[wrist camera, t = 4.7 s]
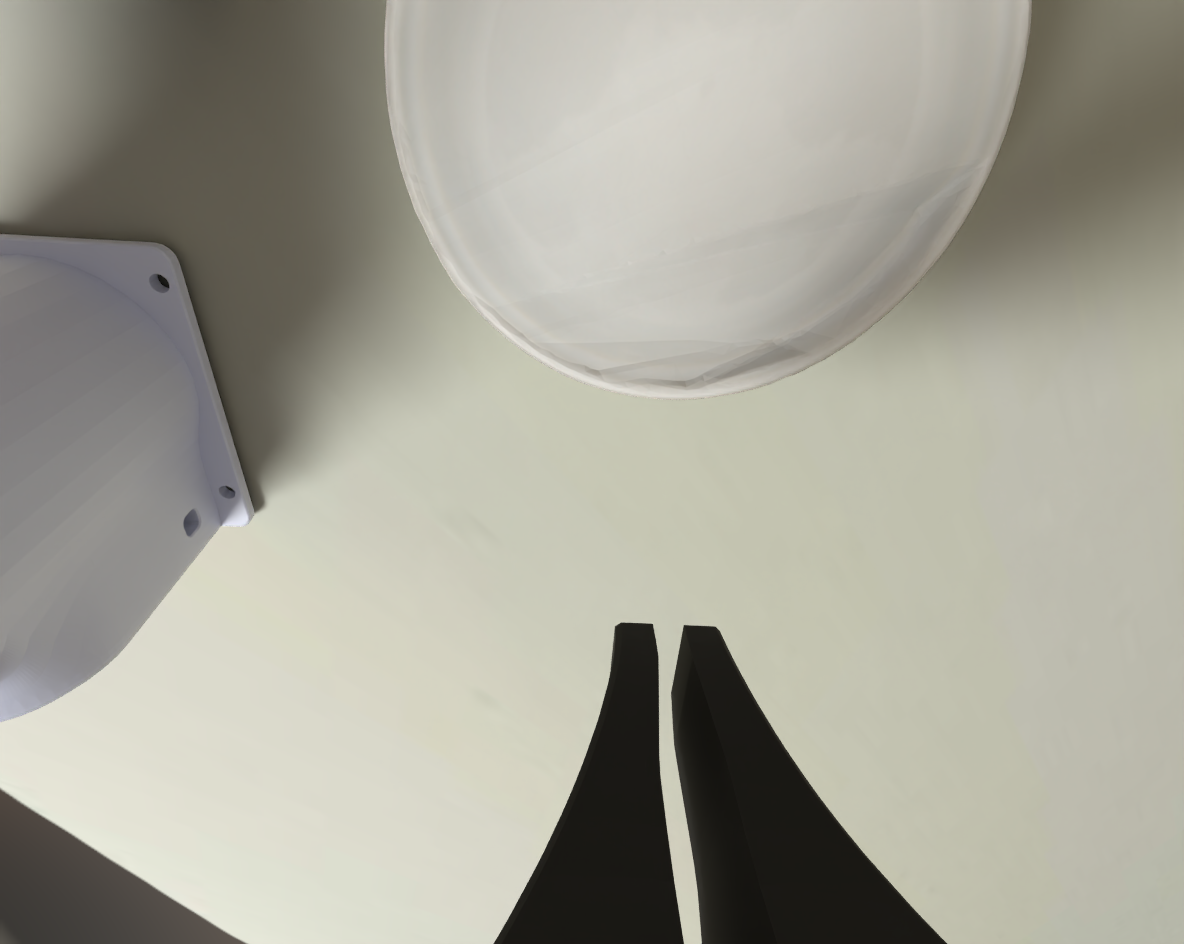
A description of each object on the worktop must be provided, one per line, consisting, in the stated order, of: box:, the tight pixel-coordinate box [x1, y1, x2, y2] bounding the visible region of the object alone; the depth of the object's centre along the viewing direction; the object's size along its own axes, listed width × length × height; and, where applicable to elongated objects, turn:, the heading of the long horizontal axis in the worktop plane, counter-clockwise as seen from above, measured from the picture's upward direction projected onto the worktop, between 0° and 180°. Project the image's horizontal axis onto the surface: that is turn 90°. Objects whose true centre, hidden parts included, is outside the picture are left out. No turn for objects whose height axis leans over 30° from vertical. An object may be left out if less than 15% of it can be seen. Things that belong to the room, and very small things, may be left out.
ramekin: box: [384, 0, 1032, 400], centre depth 13 cm, size 11×11×5 cm
